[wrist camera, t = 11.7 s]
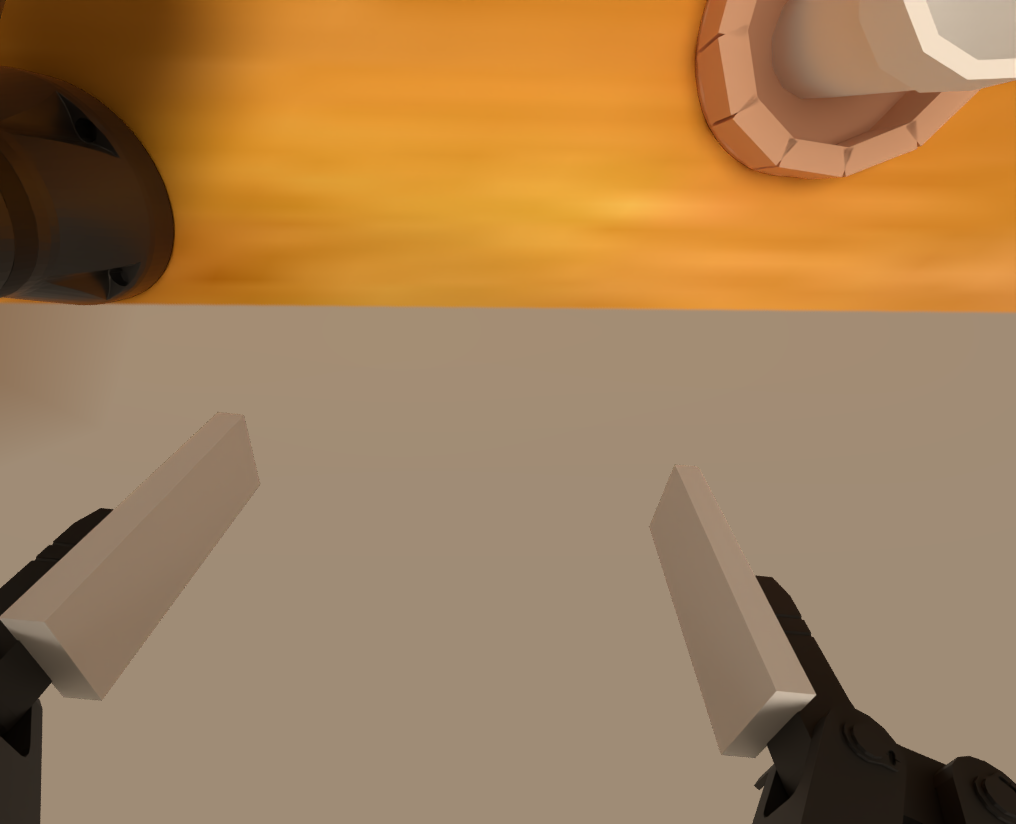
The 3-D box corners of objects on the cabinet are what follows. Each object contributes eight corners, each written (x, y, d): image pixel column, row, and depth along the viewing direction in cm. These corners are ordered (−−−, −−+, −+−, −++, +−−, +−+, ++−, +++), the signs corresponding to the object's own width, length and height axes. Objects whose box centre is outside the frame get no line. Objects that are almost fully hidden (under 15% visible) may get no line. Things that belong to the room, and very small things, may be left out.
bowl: (665, 158, 31) (685, 152, 27) (747, -160, 24) (790, -232, 20) (881, 192, 31) (934, 191, 27) (1020, -114, 24) (1117, -176, 20)
